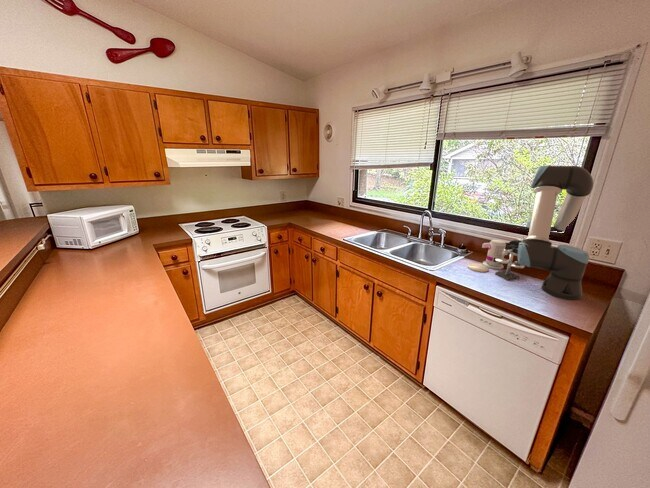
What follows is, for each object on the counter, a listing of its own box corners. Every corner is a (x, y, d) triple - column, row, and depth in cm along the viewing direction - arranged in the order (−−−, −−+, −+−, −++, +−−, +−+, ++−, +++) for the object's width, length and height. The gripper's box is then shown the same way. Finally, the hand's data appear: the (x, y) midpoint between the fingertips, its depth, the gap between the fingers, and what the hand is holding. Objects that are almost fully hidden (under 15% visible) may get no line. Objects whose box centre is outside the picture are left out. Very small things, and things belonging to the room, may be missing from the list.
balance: (525, 277, 149) (533, 248, 144) (500, 282, 144) (507, 252, 138) (512, 271, 157) (518, 244, 151) (487, 276, 151) (493, 247, 146)
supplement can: (484, 264, 164) (488, 241, 159) (487, 260, 170) (492, 238, 165) (499, 268, 159) (504, 244, 154) (502, 264, 164) (507, 241, 160)
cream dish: (492, 270, 158) (493, 269, 157) (478, 273, 154) (478, 271, 154) (477, 263, 168) (477, 262, 167) (463, 266, 164) (463, 264, 164)
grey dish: (507, 268, 161) (508, 266, 161) (493, 270, 158) (494, 269, 158) (491, 261, 171) (492, 260, 171) (478, 263, 168) (478, 262, 168)
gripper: (537, 258, 156) (510, 262, 150) (498, 245, 179) (474, 248, 172) (540, 246, 154) (513, 250, 148) (501, 234, 176) (476, 237, 170)
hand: (492, 249), depth 160 cm, fingers open, 13 cm apart
